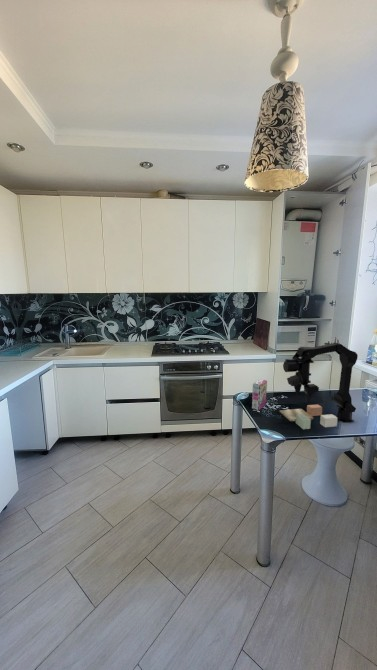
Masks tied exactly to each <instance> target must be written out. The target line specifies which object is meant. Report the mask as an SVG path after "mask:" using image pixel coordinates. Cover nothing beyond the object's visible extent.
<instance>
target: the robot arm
mask: <svg viewBox="0 0 377 670" xmlns="http://www.w3.org/2000/svg"><path fill="white" fill-rule="evenodd" d="M295 352H296V353H295V354H294V355H293V356H292V358H285V361H284V362H283V364H282V367H283V371H284V372H285V373H293V372H294V373H295V374H294V375H291V376H289V377H287V378H286V380H287V383H288V385H290V387H293V388H294V392H295V395H296V396H300V392H301V389H302V386H303V392H304V393H305V399H306V400H305V401H306V403H309V402H310V401H311V399H312V398H313V397H314V395H315V394H316V393H317V392H319V390H320V387H319V385H316V384H314V383H312V382H311V379H310V376H312V373H310V368H311V367H310V366H311V364H315V361H314V360H312V359H314V358H315V357H316V356H319V355H324V354H330V353H334V352H335V353H336V354H337V355H339V362H340V364H341V368H340V369H341V370H340V376H339V386H338V390H337V392H334V393H333V399H332V400H333V402H334V403H335V405H336V407H338V409H337V415H335V416H336V417H337V420H339V421H341V422H342V423H353V422H355V420H354V419H352V418H353V413H355V411H357V408H356V407H355V405H353V404H352V403H353V402H352V400H353V399H352V396H351V393H350V388H351V380H352V373H353V367H354V366H355V364H356V363H357V360H358V353H357V352H356V351H354V350H351V349H349V348H348V347H345V346H344V345H343V344H342V343H339V342H333V343H328V344H323V345H318V346H300V347H299V348H297V350H296V351H295Z"/></svg>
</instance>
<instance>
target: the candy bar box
mask: <svg viewBox="0 0 377 670" xmlns="http://www.w3.org/2000/svg"><path fill="white" fill-rule="evenodd" d="M267 391H268V380H265V379H258V380H257V381H255V382H253V383H252V395H251V396H252V399H251V409H252V410H255V411H260V410H262V408H264V407H265V406H266V405H267V394H268V393H267Z"/></svg>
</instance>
